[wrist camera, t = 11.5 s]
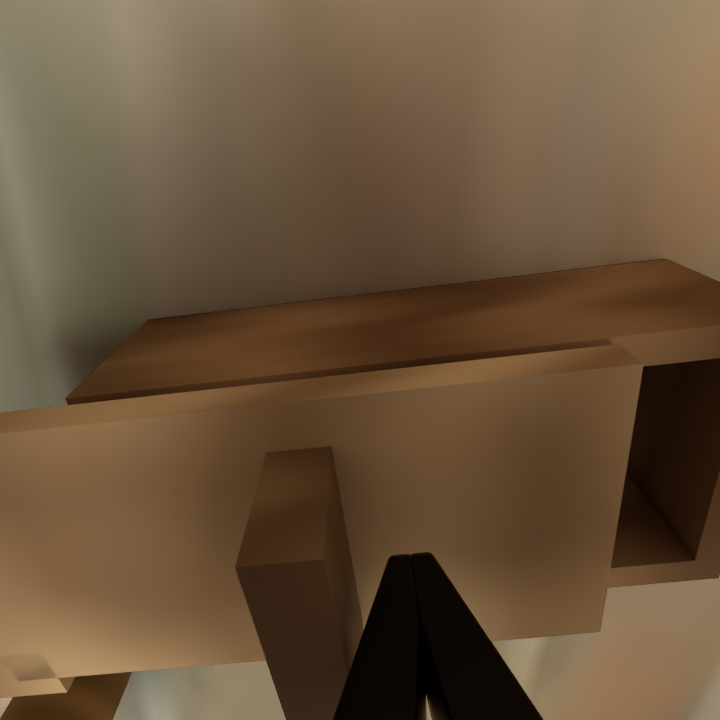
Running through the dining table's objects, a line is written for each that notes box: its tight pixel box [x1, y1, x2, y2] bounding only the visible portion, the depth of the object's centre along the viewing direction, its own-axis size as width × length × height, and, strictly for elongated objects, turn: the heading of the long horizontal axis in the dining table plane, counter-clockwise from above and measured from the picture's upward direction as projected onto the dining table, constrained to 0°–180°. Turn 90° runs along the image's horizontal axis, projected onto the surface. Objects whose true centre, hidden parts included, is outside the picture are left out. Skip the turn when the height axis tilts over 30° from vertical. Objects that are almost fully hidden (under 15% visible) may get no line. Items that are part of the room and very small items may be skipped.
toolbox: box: [65, 259, 720, 588], centre depth 13 cm, size 22×10×4 cm, turn 97°
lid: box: [0, 344, 644, 720], centre depth 9 cm, size 17×8×3 cm, turn 97°
